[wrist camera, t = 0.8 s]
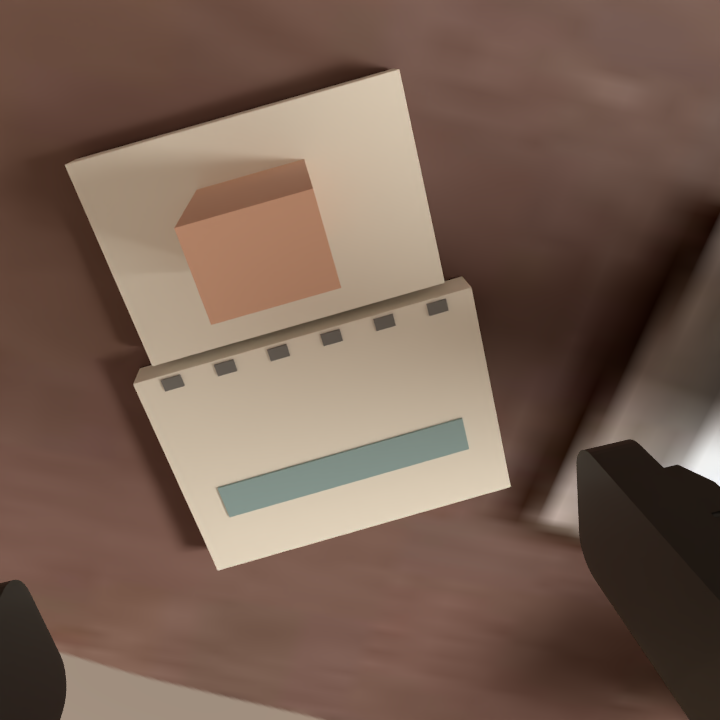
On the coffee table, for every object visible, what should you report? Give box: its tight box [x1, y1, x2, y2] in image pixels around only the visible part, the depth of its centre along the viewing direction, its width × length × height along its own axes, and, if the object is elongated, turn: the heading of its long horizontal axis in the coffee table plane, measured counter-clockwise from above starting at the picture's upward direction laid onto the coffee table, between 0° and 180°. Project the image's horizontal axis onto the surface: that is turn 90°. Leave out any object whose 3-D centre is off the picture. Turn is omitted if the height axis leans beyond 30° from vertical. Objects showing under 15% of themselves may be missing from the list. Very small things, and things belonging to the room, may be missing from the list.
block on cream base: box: [65, 69, 445, 366], centre depth 23 cm, size 12×8×7 cm, turn 105°
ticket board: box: [133, 276, 511, 570], centre depth 30 cm, size 14×10×2 cm
